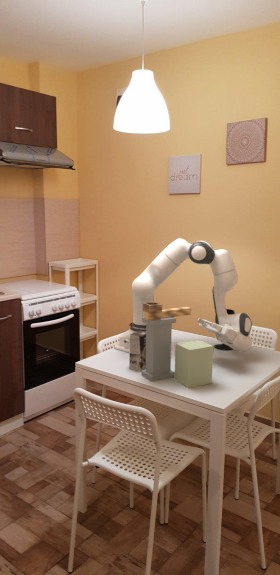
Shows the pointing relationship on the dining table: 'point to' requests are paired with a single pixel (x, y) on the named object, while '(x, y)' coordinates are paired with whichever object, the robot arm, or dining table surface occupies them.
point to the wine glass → (223, 346)
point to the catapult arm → (163, 311)
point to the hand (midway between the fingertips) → (205, 322)
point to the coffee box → (137, 350)
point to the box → (193, 363)
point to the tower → (158, 348)
